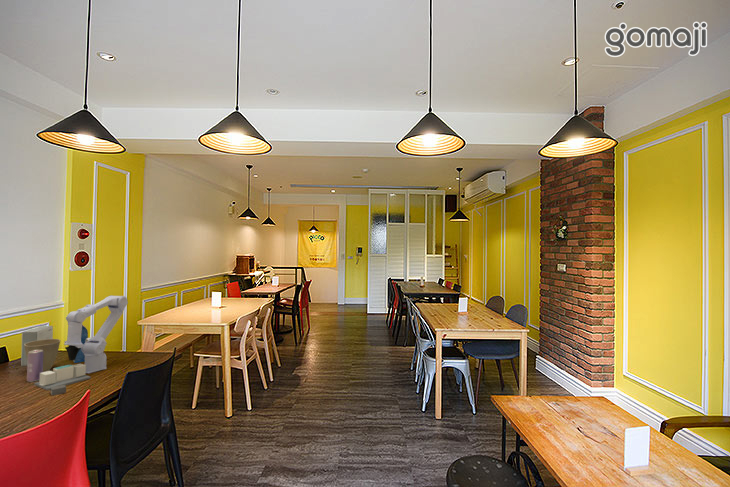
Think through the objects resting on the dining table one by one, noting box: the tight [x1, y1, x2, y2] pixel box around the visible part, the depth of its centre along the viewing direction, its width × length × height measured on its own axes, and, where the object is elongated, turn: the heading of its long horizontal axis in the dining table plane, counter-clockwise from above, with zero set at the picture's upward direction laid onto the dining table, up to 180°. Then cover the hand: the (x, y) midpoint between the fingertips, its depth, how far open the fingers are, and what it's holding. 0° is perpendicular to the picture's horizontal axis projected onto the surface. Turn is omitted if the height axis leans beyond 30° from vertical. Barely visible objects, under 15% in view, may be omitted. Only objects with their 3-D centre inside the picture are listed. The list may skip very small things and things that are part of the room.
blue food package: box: [72, 324, 89, 364], centre depth 216 cm, size 6×12×25 cm, turn 46°
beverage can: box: [26, 350, 43, 383], centre depth 182 cm, size 6×6×15 cm
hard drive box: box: [20, 325, 54, 367], centre depth 211 cm, size 16×8×20 cm, turn 14°
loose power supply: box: [50, 385, 67, 397], centre depth 166 cm, size 5×4×3 cm
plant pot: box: [24, 338, 61, 372], centre depth 195 cm, size 15×15×16 cm
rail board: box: [33, 363, 92, 391], centre depth 180 cm, size 18×14×6 cm
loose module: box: [52, 364, 74, 382], centre depth 180 cm, size 7×4×6 cm, turn 153°
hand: (72, 360), depth 186 cm, fingers closed
